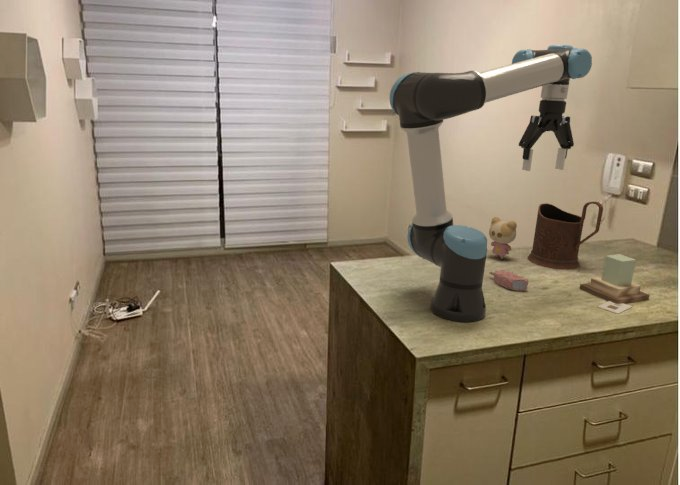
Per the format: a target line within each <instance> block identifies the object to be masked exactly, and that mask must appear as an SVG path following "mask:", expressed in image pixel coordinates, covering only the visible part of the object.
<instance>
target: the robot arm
mask: <svg viewBox="0 0 680 485" xmlns="http://www.w3.org/2000/svg"><path fill="white" fill-rule="evenodd" d="M511 59H512V60H511V63H510V64H506V65H504V66H503V65H502V66H500V67H494V68H492V69H489V70H485V71H484V70H483V71H481V72H478V71H476V70H469V71H464V72H420V71H416V72H410V73H406V74H405V73H404V74H403V75H401V76H400V77H398V78H397V79H396V80H395V82H394V83H393V85H392V86H391V89H390V92H389V104H390V108H391V110H392V111H393V112H394V113H395V114H396V115H397V116H398V117H399V118H398V119H399V125H400V129H401V130H403V131H404V132H405V133H406V137H407V138H406V140H407V145H408V147H407V148H408V155H409V162H410V171H411V179H412V188H413V195H414V204H415V205H414V206H415V212H416V214H415V215H414V216H413V217H412V219H411V220H412V222H411V225H410V227H409V229H408V231H407V243H408V246H409V248H410V249H411V251H412V252H414V254H416V255H417V256H418V257H420V258H421V259H423V260H426V261H427V262H430V263H432V264H434V265H436V266H437V267H440V271H439V281H438V284H437V287H436V289H435V292H434V294H433V296H432V298H431V300H430V310H431V312H432V313H433V314H434V315H436V316H437V317H440V318H442V319H444V320H449V321H455V322H463V323H471V322H477V321H480V320H482V319H484V318H485V317H486V312H487V306H486V302H485V297H484V291H483V281H484V276H485V274H484V273H485V267H486V262H487V261H486V260H487V253H488V239H487V236H486V235H485V233H484V232H482V231H481V230H479V229H477V228H474V227H469V226H468V225H467V226H466V225H461V224H460V225H459V224H457V225H456V224H454V219H453V218H454V217H453V214H452V213H451V212H450V211H448V210H447V201H446V192H445V182H444V171H443V163H442V162H443V161H442V154H441V153H442V152H441V142H440V132H439V131H440V130H439V129H440V127H441V125H442V124H443V123H444V120H447V119H451V118H455V117H458V116H461V115H462V116H463V115H465V114H467V113H470V112H473V111H477V110H479V109H482V108H483V107H484V105H485V104H487V103H490V102H493V101H495V100H500V99H502V98H506V97H510V96H513V95H516V94H519V93H522V92H526V91H529V90H533V89H535V88H539V87H541V92H540V98H541V100H540V101H539V106H538V112H539V115H532V114H531V116H530V119H529V123H528V125H527V127H526V128H525V130H524V133H523V134H522V137H521V138H520V140H519V143H518V147H520V148H522V149H523V151H522V160H523V161H522V168H521V170H522V171H527V172H531V169H532V162H533V161H532V160H533V155H534V154H533V153H534V149H533V147H534V145H536V143H537V141H539V139H540V137H541V136H542V135H543V134H544V133H546V132H553V134H554V137H555V138H556V141H557V142H558V145H559V146H560V147H558V148H557V154H556V160H555V168H554V169H555V170H559V171H564V167H565V163H566V159H567V155H568V150H571V148H572V147H574V144H575V143H574V139H573V132H572V128H571V116H568V115H563V114H565V113H566V108H567V107H566V106H567V102H566V101H565V100H566V99H568V93H569V87H570V86H569V85H570V80H571V79H572V80H576V79H583V78H584V77H587V75H588V74H589V73H590V71H591V68H592V65H593V63H592V62H593V60H592V59H593V57H592V54H591V52H590V51H589V50H588V49H585V48H578V47H573V46H572V45H567V44H565V45H564V44H551V45H548V47H547V49H539V50H538V49H537V50H533V49H521V50H518V51H516V53H515V54H514V55H513V57H512V58H511Z"/></svg>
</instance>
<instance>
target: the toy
mask: <svg viewBox="0 0 680 485" xmlns="http://www.w3.org/2000/svg"><path fill="white" fill-rule="evenodd" d="M517 227H518V226H517V222H516V221H515V220H510V221H508V222H507V221H503V220H501V218H499V217H497V216H494V217H493V218H491V222H490V226H489V231H488V235H489V238H490V239H491V240H492V242H490V246H491V247H493V248H492V251H491V253H493V254H494V255H495V257H494V258H496V259H498V258H499V259H500V260H504V259H505V255H509V253H510V252H511V251H512V247H511V245H510V244H511V243H512V242H513V241H515V239H516V237H517Z"/></svg>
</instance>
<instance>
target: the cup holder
mask: <svg viewBox="0 0 680 485" xmlns="http://www.w3.org/2000/svg"><path fill="white" fill-rule="evenodd" d="M591 204H592V205H596V206H597V207H598V214H597V219H596V225H595V229H594V231H593V232H592V233H590V234H589V235H587V236H586V237H585V238H583V239H582V240H581V238H582V234H583V228H584V223H585V219H586V214H587V210H588V209H587V208H588V206H589V205H591ZM603 211H604V206H603V204H601V202H598V201H588V202H586V203H585V204H584V205H583V207H582V211H581V212H582V213H581V216H580V215H577V214H574V213H571V212H567V211H565V210H563V209H561V208H560V207H557V206H555V205H554V204H551V203H547V202H546V203H540V204H539V206H538V209H537V215H536V216H537V217H536V222H535V229H534V235H533V236H534V237H533V244H532V249H531V251H530V254H529V255H528V256H527V257H526V258H527V260H528V261H529V262H530V263H531V264H534V265H536V266H540V267H543V268H548V269H553V270H562V271H568V270H576V269H578V268H580V267H581V264H580V262H579V252H580V245H582V244H584V243H585V242H586V241H588V240H589V239H590V238H592V237H593V236H595V235H596V234H597V233H599V231H600V228H601V221H602V216H603V213H604V212H603Z"/></svg>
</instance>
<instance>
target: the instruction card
mask: <svg viewBox="0 0 680 485" xmlns="http://www.w3.org/2000/svg"><path fill="white" fill-rule="evenodd" d="M597 308H598V309H602V310H604V311H607V312H611V313H614V314H616V315H619V314H621V313H623V312H625V311H628V310H629V309H631V308H633V305H629V304H628V303H626V304H624V303H621V304H615V303H613V302H611V301H606V302H604V303H601V304H600V305H598V306H597Z"/></svg>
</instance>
